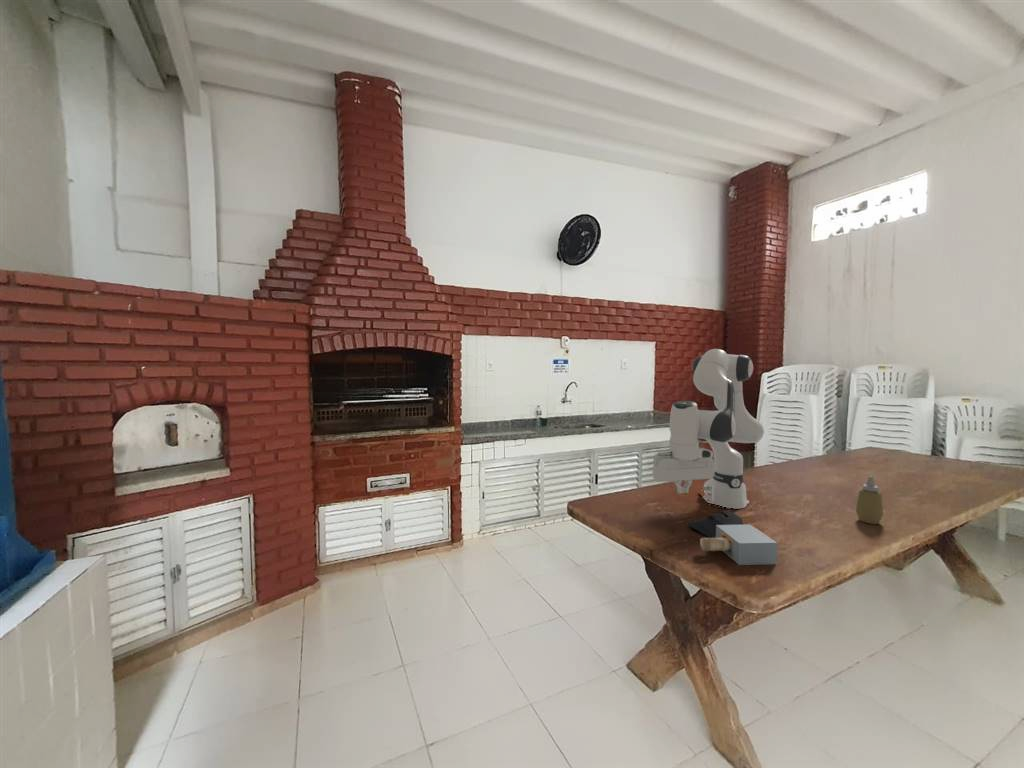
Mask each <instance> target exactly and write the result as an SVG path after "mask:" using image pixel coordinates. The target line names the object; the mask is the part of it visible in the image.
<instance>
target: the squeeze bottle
mask: <svg viewBox="0 0 1024 768" xmlns="http://www.w3.org/2000/svg"><path fill="white" fill-rule="evenodd" d="M855 511H856V513H857V516H858V517H857V518H858V520H859V521H861V522H862V523H866V524H871V525H878V524H879V523H880V522H881V520H882V518H883V516H884V510H883V499H882V493H881V492H880V491H879V486H878V485H875V480H874V477H873V476H871V475H869V476H868V478H867V481H866V483H864V484H862V489H860V490H858V496H857V501H856V507H855Z"/></svg>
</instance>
